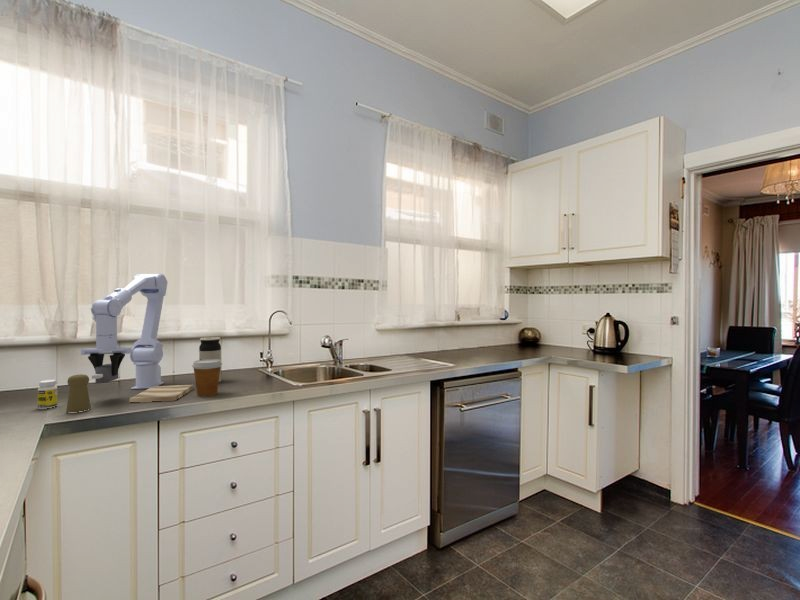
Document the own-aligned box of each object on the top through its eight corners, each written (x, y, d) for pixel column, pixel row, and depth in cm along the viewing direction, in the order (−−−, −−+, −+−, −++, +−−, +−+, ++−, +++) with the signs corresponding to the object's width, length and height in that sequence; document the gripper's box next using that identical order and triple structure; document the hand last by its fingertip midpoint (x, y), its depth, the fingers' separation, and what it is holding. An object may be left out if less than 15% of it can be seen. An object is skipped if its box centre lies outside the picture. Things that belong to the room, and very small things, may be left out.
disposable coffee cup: (218, 397, 139) (218, 362, 139) (188, 398, 137) (188, 363, 137) (224, 391, 148) (224, 358, 148) (196, 392, 146) (196, 359, 146)
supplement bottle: (34, 410, 124) (34, 383, 123) (41, 406, 128) (40, 380, 128) (54, 408, 125) (54, 381, 125) (60, 404, 130) (59, 378, 130)
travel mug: (222, 379, 168) (221, 336, 168) (220, 383, 161) (219, 338, 160) (201, 381, 166) (200, 337, 166) (198, 385, 158) (197, 339, 158)
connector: (107, 377, 139) (107, 363, 139) (120, 377, 140) (120, 363, 140) (88, 385, 128) (88, 369, 128) (102, 384, 129) (102, 369, 128)
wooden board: (153, 390, 149) (153, 386, 149) (193, 388, 152) (193, 384, 152) (129, 402, 132) (129, 398, 132) (175, 400, 134) (175, 396, 134)
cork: (88, 407, 127) (87, 372, 127) (93, 410, 123) (93, 374, 123) (63, 411, 122) (63, 375, 122) (68, 414, 119) (68, 377, 118)
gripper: (75, 336, 130) (75, 378, 130) (124, 335, 132) (124, 377, 132) (87, 334, 137) (88, 374, 137) (134, 333, 139) (135, 373, 139)
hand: (107, 375), depth 135 cm, fingers closed on connector, 4 cm apart
